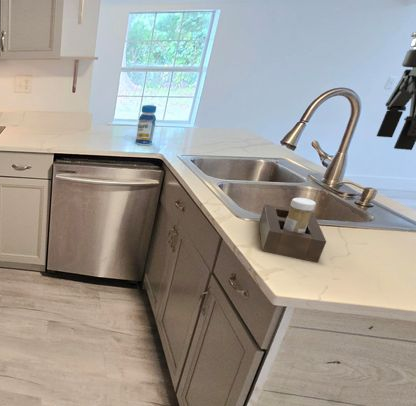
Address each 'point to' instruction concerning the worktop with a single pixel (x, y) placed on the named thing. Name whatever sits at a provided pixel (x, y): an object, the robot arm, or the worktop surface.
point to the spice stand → (290, 235)
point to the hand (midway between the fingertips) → (392, 142)
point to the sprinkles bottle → (299, 215)
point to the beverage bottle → (146, 125)
